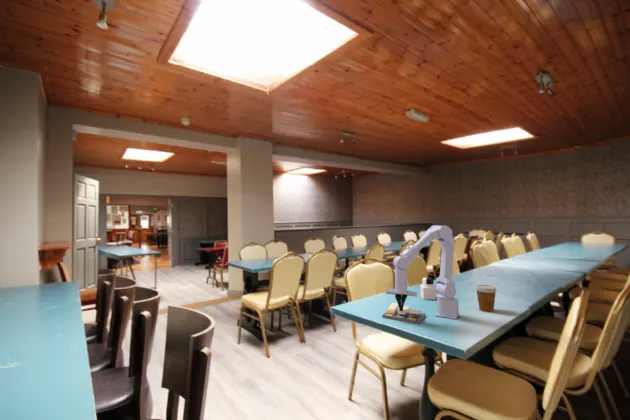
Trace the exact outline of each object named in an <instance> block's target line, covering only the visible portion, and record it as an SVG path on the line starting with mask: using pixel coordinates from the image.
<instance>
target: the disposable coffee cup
mask: <svg viewBox="0 0 630 420" xmlns="http://www.w3.org/2000/svg"><path fill="white" fill-rule="evenodd" d="M475 291H476V294H477V295H476V296H477V301H478V308H479V311H482V312H484V311H486V312H485V313H492V311H493V312H494V311H495V310H494V308H495V301H496V293H497V288H496V287H495V286H493V285H488V284H477V285H476V286H475Z"/></svg>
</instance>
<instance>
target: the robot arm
mask: <svg viewBox="0 0 630 420" xmlns="http://www.w3.org/2000/svg"><path fill="white" fill-rule="evenodd" d="M433 240H437V241H438V242H439V243H440V244H441V245H442V246H441V256H440V268H439V269H440V270H439V275H438V277H437V278H436V281H435V284H434V285H433V286H434V290H435V292H436V301H437V302H436V303H437V304H436V305H437V312H436V313H435V314H434V315H435V317H439V318H440V317H441V318H447V319H453V320H456V319H457V318H458V317H459V315H460V314H459V313H460V311H459V299H458V297H457V298H456V297H455V296H456V294H457V290H456V283H455V281H454V280H453V278H452V277H453V266H454V265H453V264H454V253H455V252H454V251H455V245H456V244H455V243H456V241H455V239H454V235H453V230H452V228H450V227H449V226H448V225H436V224H434V225H431V226H430V227H429V228H428V229H427V230H426V232H425V233H424V234H423V235H422V236H421V237H420V238H419V239H418V240H417V241H416V243H414V244H413V245H412V244H410V245H409V246H408V245H407V246H406V249H405V250H404V251H402V252H401V253H399V255H397V256H395V257H394V258H393V261H392V265H393V266H394V289H387V288H386V289H385V295H395V296H394V297H395V300H396V302H397V304H398V305H399V308H398V309H399V310H400V311H403V306H405V303H406V300H407V298H408V297H414V298H417V297H418V291H412V290H408V268H409V267H410V264H411V262H412V261H413V260H415V258H416V257H418V256H419V255H420V250H422V249H423V248H424V247H425V246H427V244H429V243H430V242H431V241H433Z"/></svg>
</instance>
